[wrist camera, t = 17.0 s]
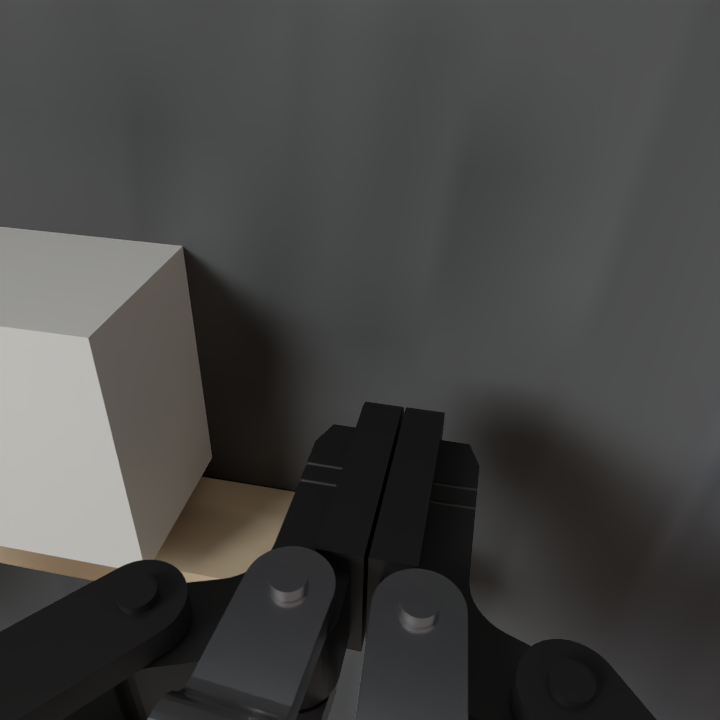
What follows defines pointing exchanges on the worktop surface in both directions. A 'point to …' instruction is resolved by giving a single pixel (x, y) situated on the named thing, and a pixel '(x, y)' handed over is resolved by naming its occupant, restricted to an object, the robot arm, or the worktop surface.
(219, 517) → the row of books
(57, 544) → the off-white matte block
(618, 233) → the worktop surface
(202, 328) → the worktop surface
